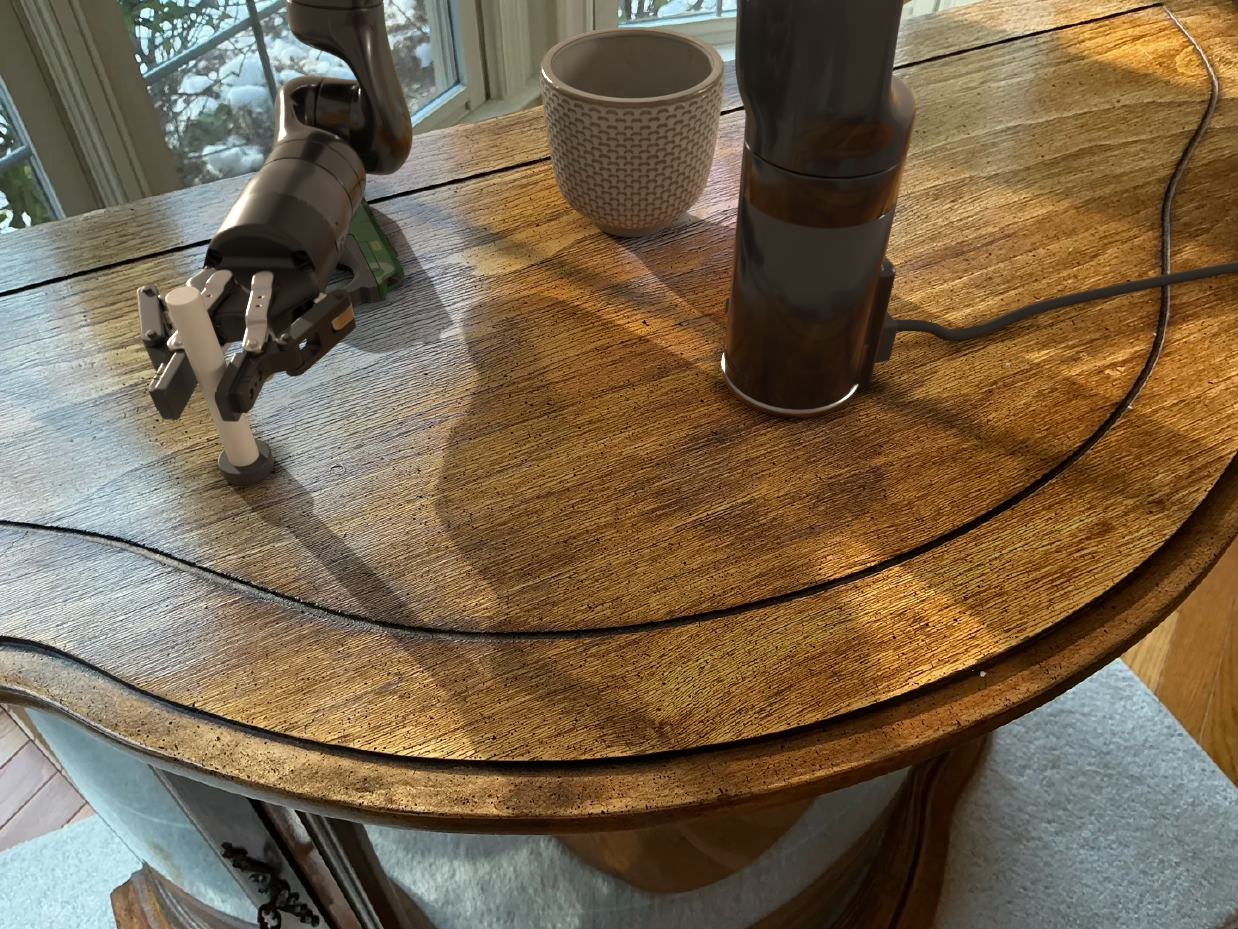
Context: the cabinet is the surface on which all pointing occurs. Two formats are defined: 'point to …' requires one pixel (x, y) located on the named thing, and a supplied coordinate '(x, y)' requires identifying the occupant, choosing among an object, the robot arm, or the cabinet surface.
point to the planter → (632, 124)
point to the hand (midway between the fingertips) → (195, 408)
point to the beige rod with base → (241, 451)
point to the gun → (369, 259)
